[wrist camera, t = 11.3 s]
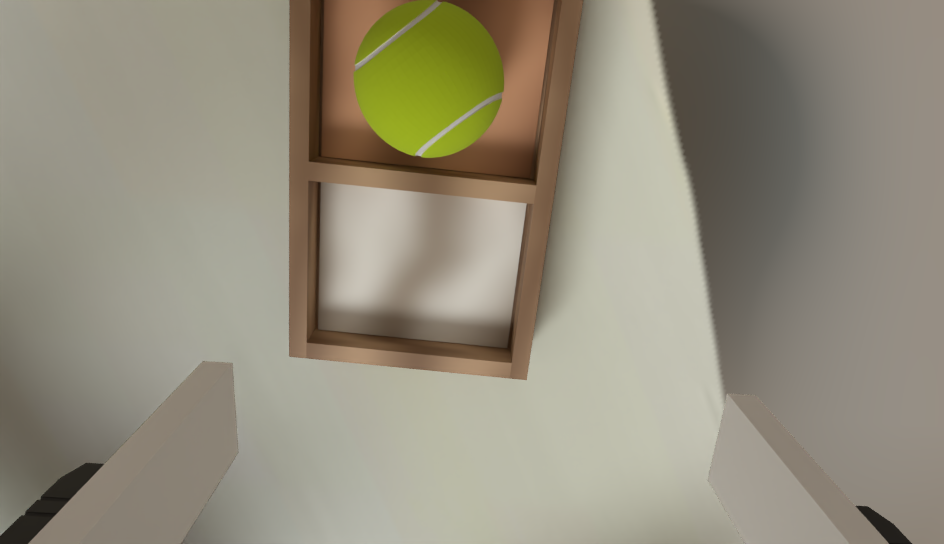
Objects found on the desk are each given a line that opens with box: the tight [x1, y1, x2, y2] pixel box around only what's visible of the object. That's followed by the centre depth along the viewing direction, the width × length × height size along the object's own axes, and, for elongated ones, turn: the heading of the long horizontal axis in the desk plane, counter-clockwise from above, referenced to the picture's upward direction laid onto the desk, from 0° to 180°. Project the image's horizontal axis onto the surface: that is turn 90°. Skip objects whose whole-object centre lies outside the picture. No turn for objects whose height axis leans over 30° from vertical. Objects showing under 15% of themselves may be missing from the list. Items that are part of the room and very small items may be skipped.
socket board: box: [289, 0, 583, 380], centre depth 33 cm, size 14×22×4 cm, turn 174°
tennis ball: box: [354, 0, 504, 158], centre depth 28 cm, size 7×7×7 cm
